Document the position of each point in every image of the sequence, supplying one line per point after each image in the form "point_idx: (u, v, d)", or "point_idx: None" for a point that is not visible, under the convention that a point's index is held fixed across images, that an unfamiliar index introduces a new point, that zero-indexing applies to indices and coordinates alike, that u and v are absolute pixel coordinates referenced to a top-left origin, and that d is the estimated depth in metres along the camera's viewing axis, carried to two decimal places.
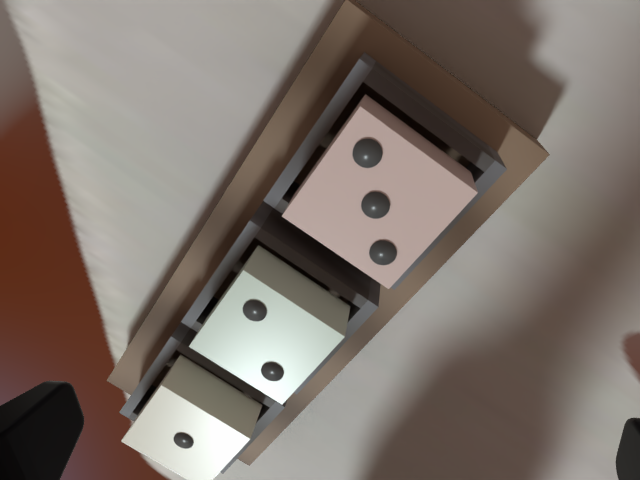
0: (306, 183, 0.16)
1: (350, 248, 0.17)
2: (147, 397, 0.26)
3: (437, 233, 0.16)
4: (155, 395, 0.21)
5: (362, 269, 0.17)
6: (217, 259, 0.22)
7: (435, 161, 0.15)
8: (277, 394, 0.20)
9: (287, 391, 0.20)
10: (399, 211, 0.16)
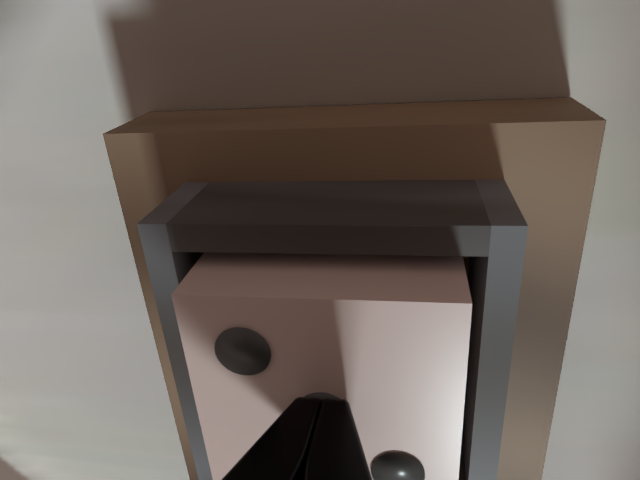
0: (206, 435, 0.09)
1: None
2: None
3: (459, 402, 0.08)
4: None
5: None
6: None
7: (354, 299, 0.07)
8: None
9: None
10: (367, 402, 0.08)
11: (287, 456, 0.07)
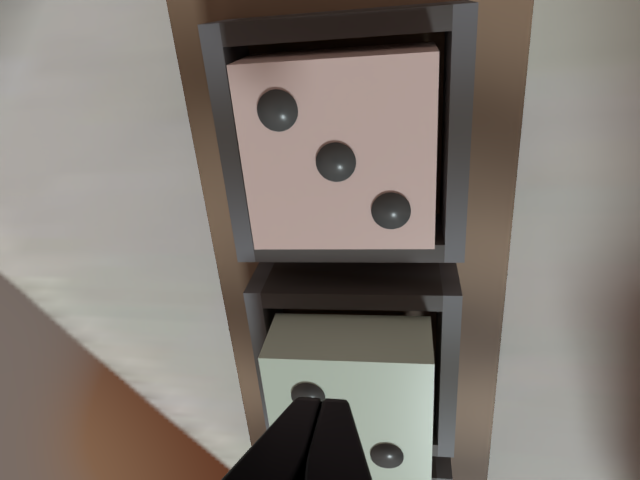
0: (248, 195, 0.12)
1: (352, 232, 0.12)
2: None
3: (433, 140, 0.11)
4: None
5: (387, 246, 0.12)
6: None
7: (357, 56, 0.10)
8: (416, 479, 0.14)
9: (423, 469, 0.14)
10: (367, 148, 0.11)
11: (287, 456, 0.07)
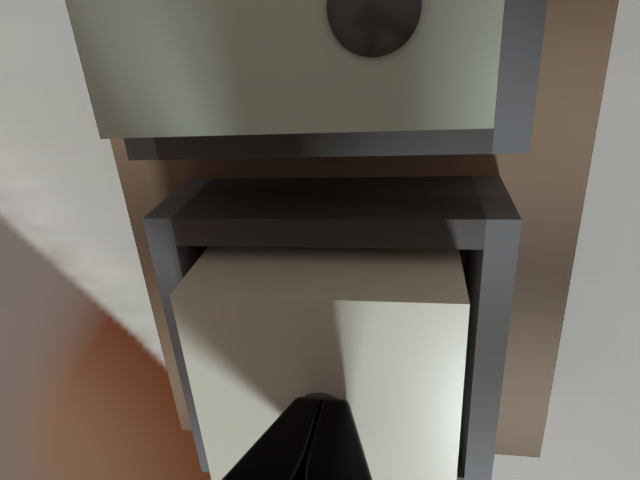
0: None
1: None
2: None
3: None
4: (182, 333, 0.08)
5: None
6: None
7: None
8: (453, 97, 0.05)
9: (477, 52, 0.05)
10: None
11: (287, 456, 0.07)
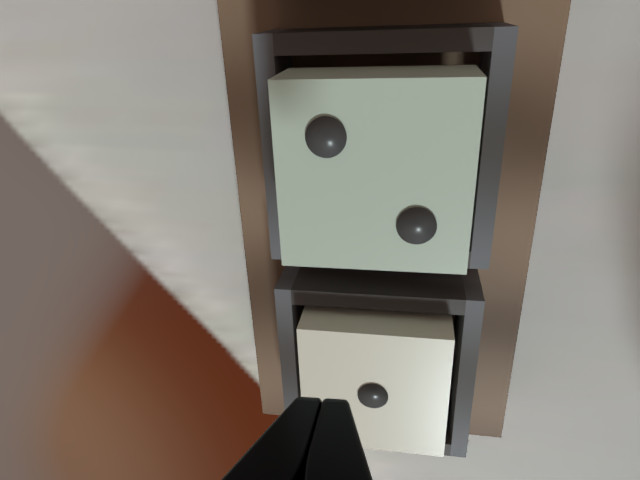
0: None
1: None
2: None
3: None
4: (299, 349, 0.15)
5: None
6: None
7: None
8: (449, 261, 0.12)
9: (460, 245, 0.11)
10: None
11: (287, 456, 0.07)
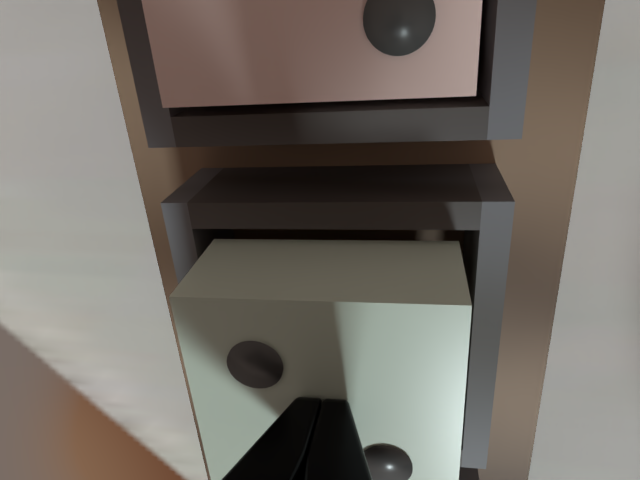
0: None
1: (328, 67, 0.07)
2: None
3: None
4: None
5: (391, 97, 0.07)
6: None
7: None
8: None
9: None
10: None
11: (287, 456, 0.07)
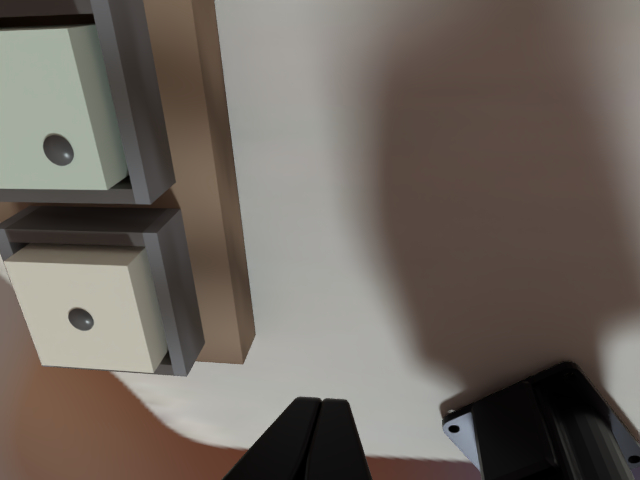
0: None
1: None
2: None
3: None
4: (12, 279, 0.17)
5: None
6: None
7: None
8: (91, 179, 0.15)
9: (94, 165, 0.15)
10: None
11: (287, 456, 0.07)
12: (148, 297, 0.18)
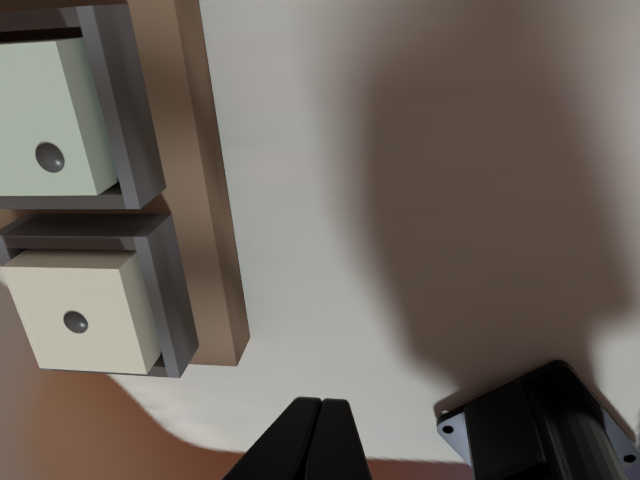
0: None
1: None
2: None
3: None
4: (9, 284, 0.18)
5: None
6: None
7: None
8: (82, 185, 0.15)
9: (84, 172, 0.15)
10: None
11: (287, 456, 0.07)
12: (140, 300, 0.18)
